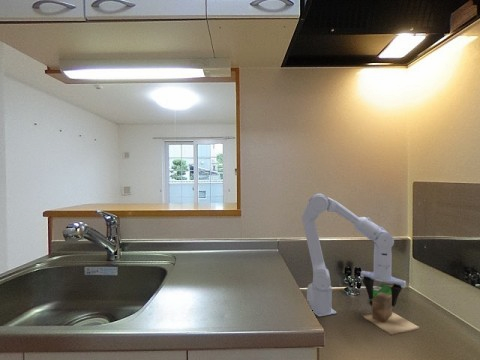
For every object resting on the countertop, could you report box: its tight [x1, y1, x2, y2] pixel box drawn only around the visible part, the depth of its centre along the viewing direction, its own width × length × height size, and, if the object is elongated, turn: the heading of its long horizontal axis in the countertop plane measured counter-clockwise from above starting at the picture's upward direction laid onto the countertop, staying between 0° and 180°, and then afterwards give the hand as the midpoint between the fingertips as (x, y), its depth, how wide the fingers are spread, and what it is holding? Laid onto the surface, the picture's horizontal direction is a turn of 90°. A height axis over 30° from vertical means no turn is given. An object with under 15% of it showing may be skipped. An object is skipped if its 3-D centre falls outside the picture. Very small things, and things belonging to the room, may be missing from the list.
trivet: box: [363, 311, 420, 336], centre depth 96 cm, size 12×12×1 cm
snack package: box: [370, 284, 393, 301], centre depth 113 cm, size 7×16×5 cm, turn 134°
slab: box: [371, 292, 393, 323], centre depth 99 cm, size 4×8×7 cm, turn 135°
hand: (382, 301), depth 99 cm, fingers open, 7 cm apart
